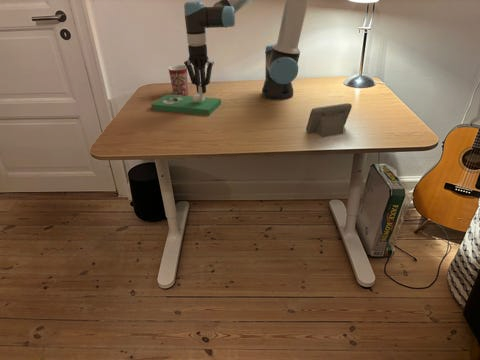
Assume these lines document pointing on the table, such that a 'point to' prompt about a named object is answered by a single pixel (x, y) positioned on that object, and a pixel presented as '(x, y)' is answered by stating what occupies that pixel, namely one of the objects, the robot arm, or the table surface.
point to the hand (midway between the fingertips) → (202, 100)
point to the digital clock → (328, 119)
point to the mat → (186, 104)
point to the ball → (196, 98)
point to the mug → (179, 79)
